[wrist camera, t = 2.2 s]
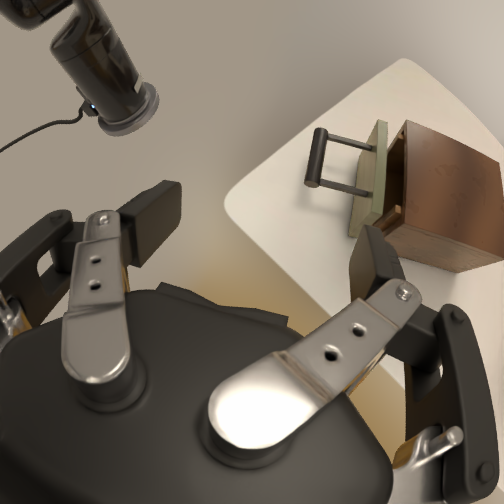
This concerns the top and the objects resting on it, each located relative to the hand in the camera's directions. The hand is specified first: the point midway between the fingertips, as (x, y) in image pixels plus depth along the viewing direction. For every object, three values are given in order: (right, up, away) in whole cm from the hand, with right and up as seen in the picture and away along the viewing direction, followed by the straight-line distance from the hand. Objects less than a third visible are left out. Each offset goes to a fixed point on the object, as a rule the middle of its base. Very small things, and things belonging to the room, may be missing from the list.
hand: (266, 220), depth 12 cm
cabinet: (+23, +3, +22) cm, 32 cm away
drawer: (+16, +5, +22) cm, 28 cm away
